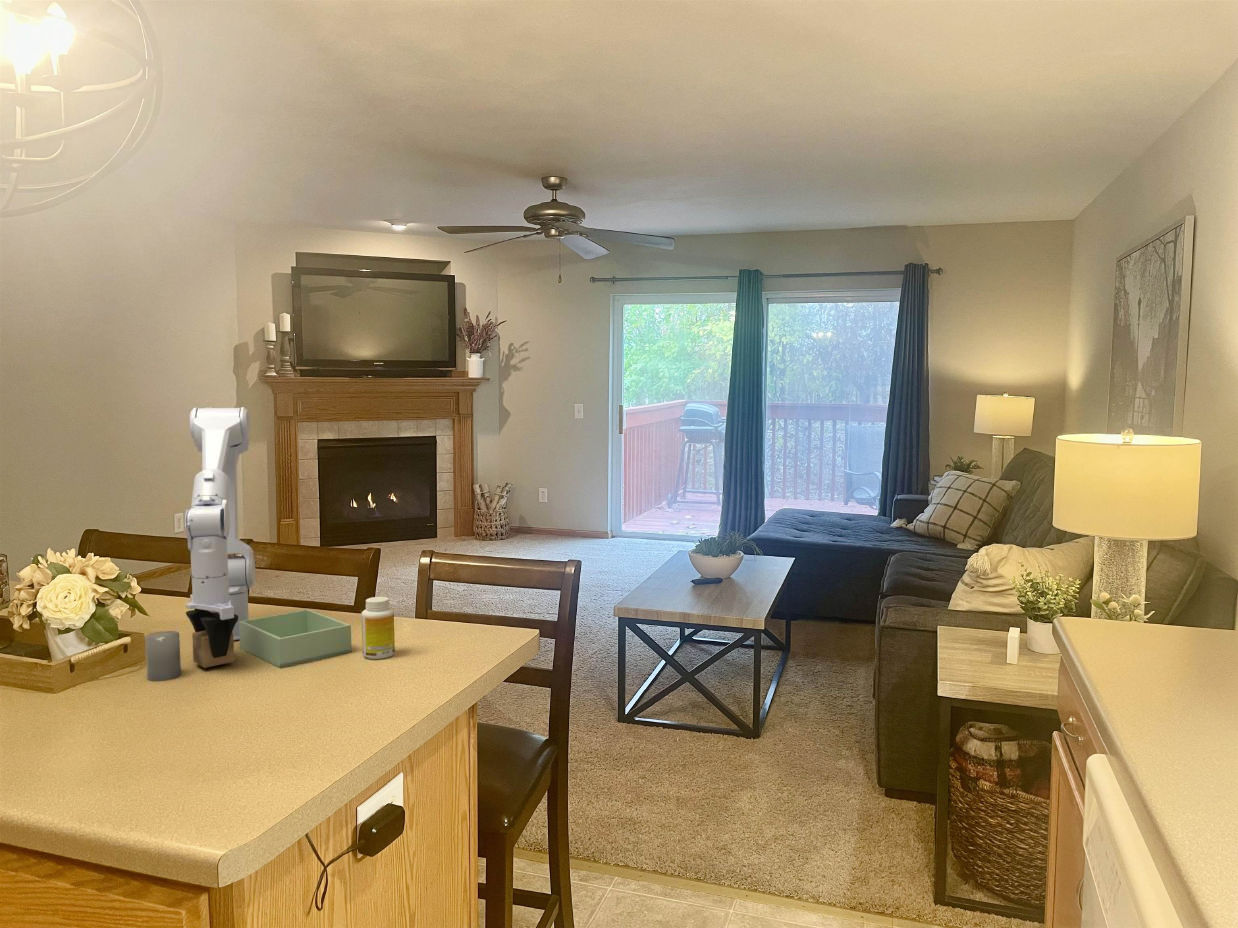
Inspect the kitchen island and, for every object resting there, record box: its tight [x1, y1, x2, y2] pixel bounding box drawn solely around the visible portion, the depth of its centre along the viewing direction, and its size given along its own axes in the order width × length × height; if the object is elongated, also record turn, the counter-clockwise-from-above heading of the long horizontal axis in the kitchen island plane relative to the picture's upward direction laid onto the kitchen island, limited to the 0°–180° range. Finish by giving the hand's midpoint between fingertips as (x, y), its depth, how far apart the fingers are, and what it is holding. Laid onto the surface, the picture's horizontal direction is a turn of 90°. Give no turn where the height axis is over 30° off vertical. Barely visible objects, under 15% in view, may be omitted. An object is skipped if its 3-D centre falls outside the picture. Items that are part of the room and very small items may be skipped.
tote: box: [239, 608, 353, 669], centre depth 162 cm, size 17×13×5 cm
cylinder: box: [144, 630, 182, 682], centre depth 148 cm, size 5×5×7 cm
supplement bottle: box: [360, 596, 396, 660], centre depth 158 cm, size 6×6×10 cm
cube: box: [191, 631, 235, 669], centre depth 153 cm, size 5×5×5 cm
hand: (213, 652), depth 153 cm, fingers closed on cube, 5 cm apart
